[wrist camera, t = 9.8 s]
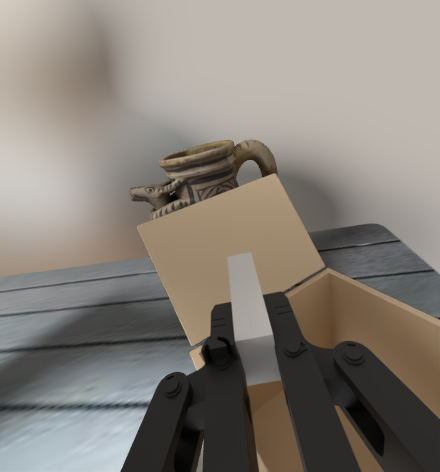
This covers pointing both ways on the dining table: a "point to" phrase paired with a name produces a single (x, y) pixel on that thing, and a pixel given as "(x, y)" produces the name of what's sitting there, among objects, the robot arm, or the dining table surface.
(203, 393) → the robot arm
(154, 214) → the decorative pitcher
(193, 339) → the lid flap
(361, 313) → the carton
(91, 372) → the dining table surface
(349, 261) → the dining table surface
